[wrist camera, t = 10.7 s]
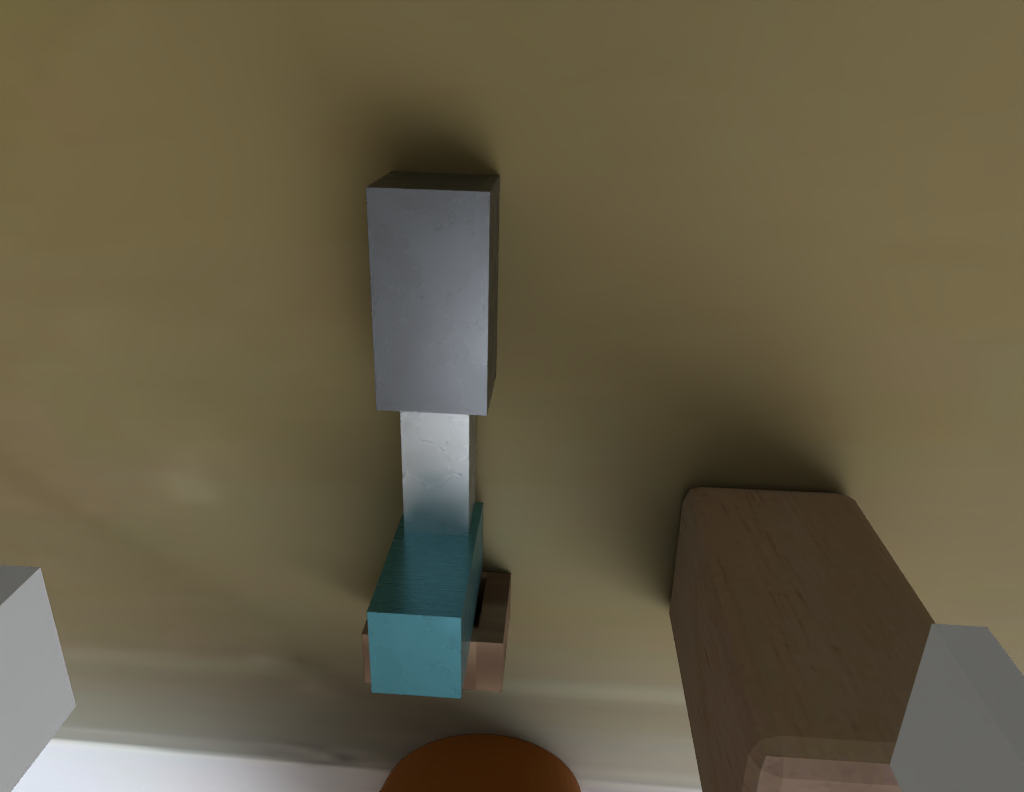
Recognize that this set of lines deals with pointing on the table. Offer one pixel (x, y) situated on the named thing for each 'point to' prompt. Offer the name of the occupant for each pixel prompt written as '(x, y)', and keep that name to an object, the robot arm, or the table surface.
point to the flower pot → (480, 767)
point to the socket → (479, 635)
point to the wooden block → (792, 641)
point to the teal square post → (430, 563)
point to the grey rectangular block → (434, 290)
